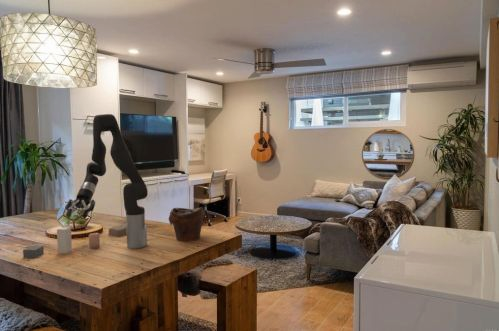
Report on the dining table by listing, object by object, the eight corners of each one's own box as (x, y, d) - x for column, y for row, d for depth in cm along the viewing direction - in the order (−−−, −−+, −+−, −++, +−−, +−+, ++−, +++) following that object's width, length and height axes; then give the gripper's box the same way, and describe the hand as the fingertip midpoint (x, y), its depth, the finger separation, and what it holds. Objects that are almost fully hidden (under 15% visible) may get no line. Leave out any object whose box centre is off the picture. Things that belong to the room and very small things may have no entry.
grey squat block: (43, 254, 173) (43, 246, 173) (35, 258, 167) (35, 250, 167) (32, 253, 174) (31, 245, 173) (23, 258, 168) (22, 249, 167)
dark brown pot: (165, 236, 202) (165, 205, 200) (198, 232, 211) (198, 202, 210) (174, 245, 186) (173, 211, 185) (209, 240, 195) (209, 208, 194)
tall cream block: (72, 250, 178) (70, 227, 177) (66, 253, 173) (65, 229, 172) (63, 250, 178) (62, 227, 177) (57, 253, 174) (56, 229, 173)
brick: (118, 237, 202) (118, 229, 202) (107, 235, 206) (107, 227, 205) (138, 230, 217) (138, 222, 217) (128, 229, 221) (127, 221, 220)
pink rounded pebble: (101, 246, 185) (101, 232, 185) (96, 249, 180) (96, 235, 180) (92, 245, 185) (91, 232, 185) (87, 248, 180) (86, 235, 180)
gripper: (71, 187, 193) (59, 213, 183) (96, 187, 192) (85, 213, 182) (77, 195, 199) (65, 220, 188) (101, 196, 198) (91, 221, 187)
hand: (75, 217), depth 185 cm, fingers open, 8 cm apart
